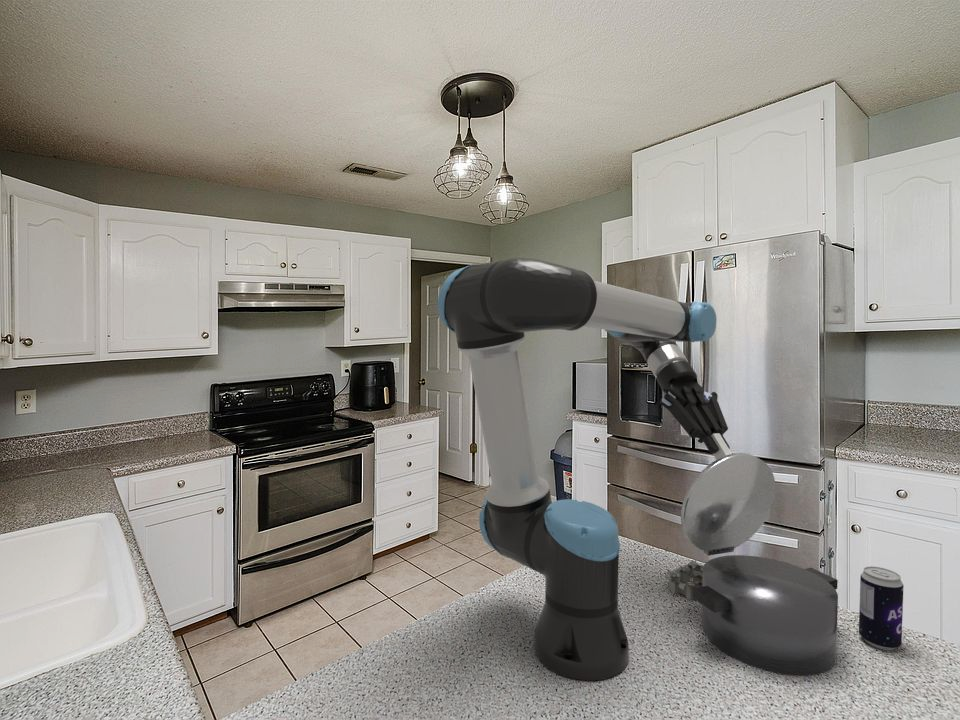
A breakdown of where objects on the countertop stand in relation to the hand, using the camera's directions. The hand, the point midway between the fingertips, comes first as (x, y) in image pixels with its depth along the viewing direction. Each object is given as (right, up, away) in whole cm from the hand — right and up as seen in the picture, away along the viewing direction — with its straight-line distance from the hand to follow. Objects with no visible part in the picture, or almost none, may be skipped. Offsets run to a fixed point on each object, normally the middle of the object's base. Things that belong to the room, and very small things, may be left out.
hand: (729, 466), depth 95 cm
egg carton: (-2, -27, +10) cm, 29 cm away
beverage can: (+21, -28, -9) cm, 36 cm away
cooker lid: (0, -7, 0) cm, 7 cm away
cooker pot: (+3, -28, -7) cm, 29 cm away
